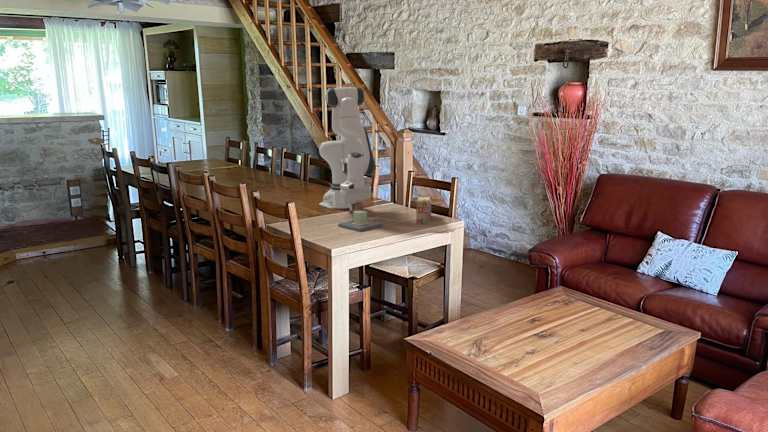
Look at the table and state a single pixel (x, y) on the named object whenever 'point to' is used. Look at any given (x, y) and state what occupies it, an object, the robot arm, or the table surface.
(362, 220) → the green block
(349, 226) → the baseplate
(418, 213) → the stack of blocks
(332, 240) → the table surface
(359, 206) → the walnut block
